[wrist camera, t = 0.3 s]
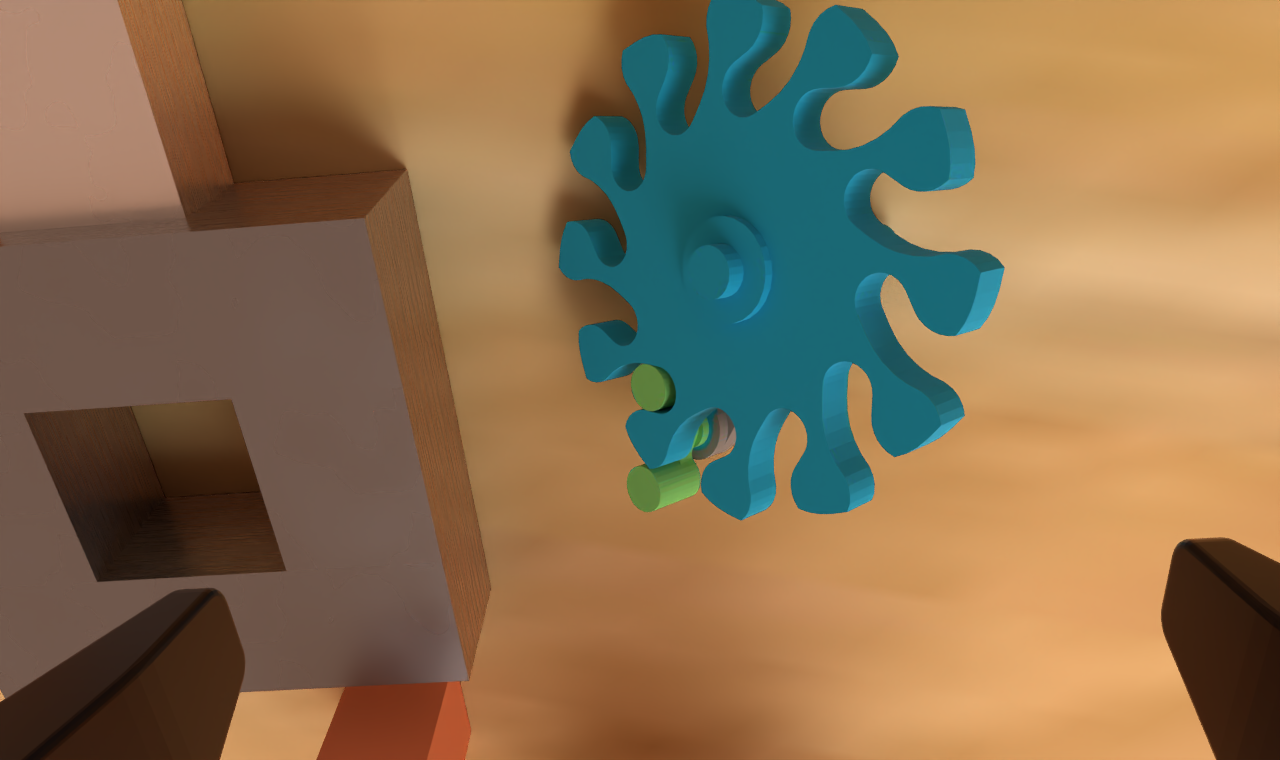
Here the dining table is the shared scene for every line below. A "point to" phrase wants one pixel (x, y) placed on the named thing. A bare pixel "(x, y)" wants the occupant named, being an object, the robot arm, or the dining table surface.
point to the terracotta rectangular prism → (399, 723)
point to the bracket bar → (103, 115)
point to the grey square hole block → (271, 426)
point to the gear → (767, 263)
